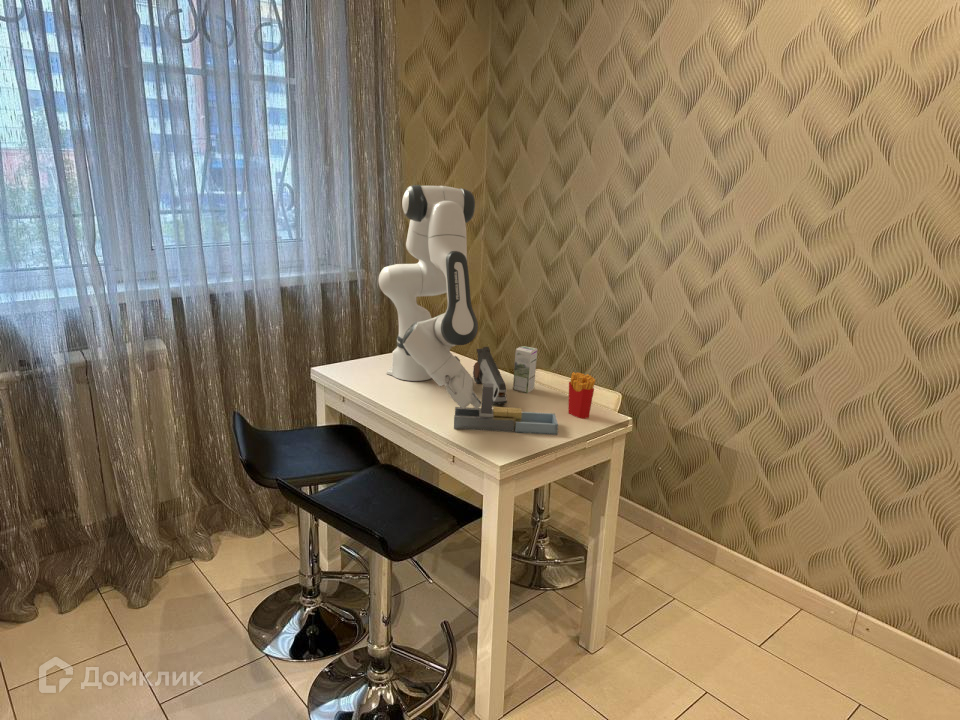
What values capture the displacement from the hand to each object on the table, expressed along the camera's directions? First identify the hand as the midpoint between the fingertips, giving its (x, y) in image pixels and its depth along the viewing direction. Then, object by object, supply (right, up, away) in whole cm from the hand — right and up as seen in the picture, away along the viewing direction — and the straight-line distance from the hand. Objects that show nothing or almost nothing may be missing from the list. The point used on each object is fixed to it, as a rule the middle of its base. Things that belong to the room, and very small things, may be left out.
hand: (479, 405), depth 198 cm
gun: (+3, +2, +29) cm, 29 cm away
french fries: (+31, -4, +14) cm, 34 cm away
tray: (+16, -6, +2) cm, 18 cm away
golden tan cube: (+6, -5, +2) cm, 8 cm away
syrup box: (+15, +3, +34) cm, 37 cm away
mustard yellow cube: (+10, -5, +2) cm, 11 cm away
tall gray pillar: (+2, -5, +2) cm, 5 cm away
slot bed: (+1, -6, +2) cm, 6 cm away
